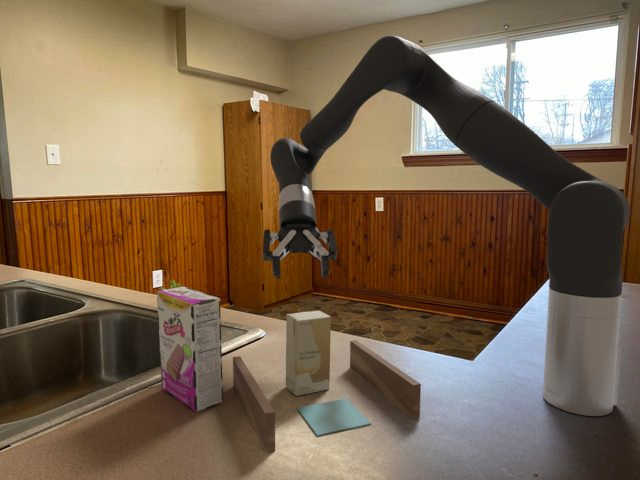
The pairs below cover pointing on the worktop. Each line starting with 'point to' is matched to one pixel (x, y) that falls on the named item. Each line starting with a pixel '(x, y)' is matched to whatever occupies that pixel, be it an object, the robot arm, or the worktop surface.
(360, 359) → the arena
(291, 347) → the skincare box
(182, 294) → the candy bar box
